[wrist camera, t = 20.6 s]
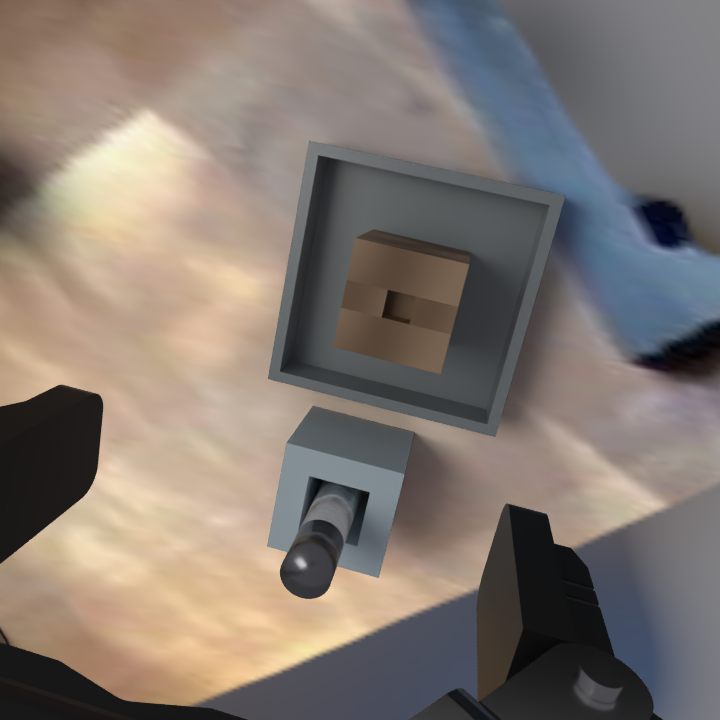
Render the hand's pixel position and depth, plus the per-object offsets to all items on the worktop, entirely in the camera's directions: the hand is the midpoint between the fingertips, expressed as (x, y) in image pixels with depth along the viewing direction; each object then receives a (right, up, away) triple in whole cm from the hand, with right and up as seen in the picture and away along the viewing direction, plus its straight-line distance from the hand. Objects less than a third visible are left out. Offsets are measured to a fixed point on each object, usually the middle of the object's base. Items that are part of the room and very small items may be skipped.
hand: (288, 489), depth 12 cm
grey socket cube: (+1, -4, +28) cm, 29 cm away
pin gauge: (+1, -4, +28) cm, 29 cm away
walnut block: (+4, +7, +24) cm, 26 cm away
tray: (+4, +7, +25) cm, 26 cm away
